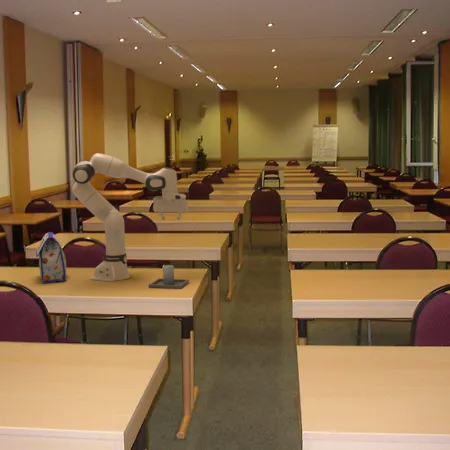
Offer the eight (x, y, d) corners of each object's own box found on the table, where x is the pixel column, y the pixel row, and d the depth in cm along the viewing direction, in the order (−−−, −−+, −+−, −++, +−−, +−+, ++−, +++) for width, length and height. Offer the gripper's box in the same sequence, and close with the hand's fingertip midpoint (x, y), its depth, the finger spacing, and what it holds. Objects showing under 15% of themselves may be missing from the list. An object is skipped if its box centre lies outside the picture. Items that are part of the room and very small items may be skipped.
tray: (149, 287, 347) (148, 284, 347) (158, 281, 360) (158, 278, 360) (180, 288, 342) (180, 285, 342) (188, 282, 356) (188, 279, 355)
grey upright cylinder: (162, 285, 349) (161, 267, 348) (166, 282, 355) (165, 265, 353) (172, 285, 348) (171, 267, 346) (176, 282, 353) (175, 265, 352)
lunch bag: (37, 276, 386) (34, 232, 382) (66, 273, 390) (62, 230, 386) (38, 284, 364) (34, 238, 360) (68, 281, 369) (64, 235, 365)
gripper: (150, 196, 365) (152, 220, 368) (184, 196, 360) (185, 220, 362) (155, 195, 371) (156, 219, 374) (188, 195, 366) (189, 219, 368)
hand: (171, 220), depth 368 cm, fingers open, 8 cm apart
